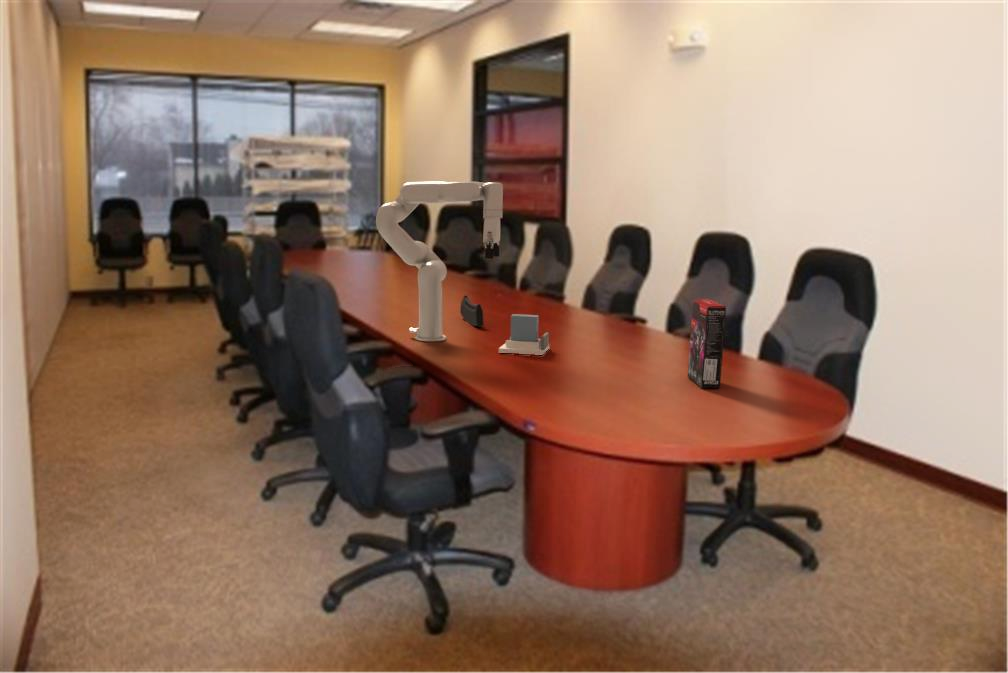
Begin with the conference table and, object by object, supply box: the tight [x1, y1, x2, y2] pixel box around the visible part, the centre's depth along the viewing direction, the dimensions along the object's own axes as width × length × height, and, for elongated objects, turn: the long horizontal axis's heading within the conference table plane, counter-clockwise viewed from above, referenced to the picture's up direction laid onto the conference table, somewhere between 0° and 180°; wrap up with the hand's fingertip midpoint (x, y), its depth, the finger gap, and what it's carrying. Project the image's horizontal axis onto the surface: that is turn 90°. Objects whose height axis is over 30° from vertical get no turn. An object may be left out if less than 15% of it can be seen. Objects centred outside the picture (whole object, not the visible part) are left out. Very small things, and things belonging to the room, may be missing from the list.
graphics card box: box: [687, 298, 727, 389], centre depth 293 cm, size 17×7×27 cm, turn 5°
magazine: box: [459, 295, 485, 327], centre depth 404 cm, size 17×3×30 cm
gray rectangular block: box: [509, 313, 540, 342], centre depth 341 cm, size 10×4×12 cm, turn 77°
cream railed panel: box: [498, 332, 550, 356], centre depth 342 cm, size 17×14×7 cm
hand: (492, 257), depth 355 cm, fingers open, 9 cm apart
